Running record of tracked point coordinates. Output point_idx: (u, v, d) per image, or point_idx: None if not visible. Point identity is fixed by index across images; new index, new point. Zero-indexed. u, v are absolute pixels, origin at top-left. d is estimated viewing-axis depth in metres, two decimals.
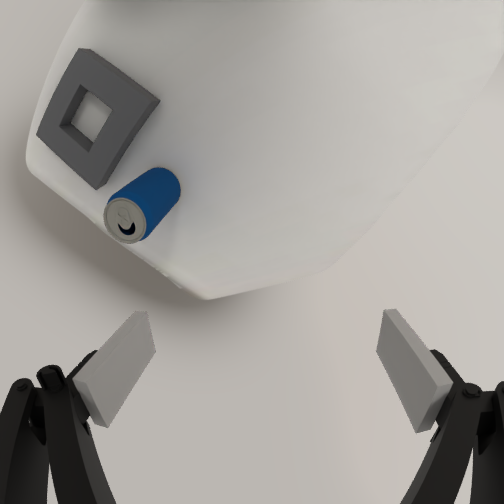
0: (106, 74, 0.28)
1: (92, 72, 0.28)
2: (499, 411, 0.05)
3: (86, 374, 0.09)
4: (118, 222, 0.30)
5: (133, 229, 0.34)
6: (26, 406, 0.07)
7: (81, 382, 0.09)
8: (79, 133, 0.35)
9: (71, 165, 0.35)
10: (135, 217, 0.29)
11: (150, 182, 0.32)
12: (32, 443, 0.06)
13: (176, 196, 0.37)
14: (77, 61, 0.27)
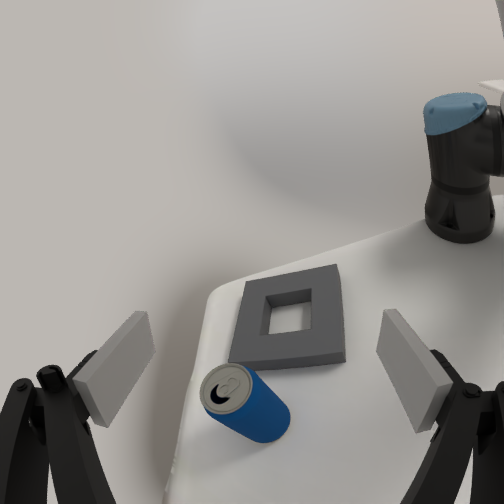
0: (334, 300, 0.39)
1: (327, 289, 0.41)
2: (499, 411, 0.05)
3: (86, 374, 0.09)
4: (220, 383, 0.26)
5: None
6: (26, 406, 0.07)
7: (81, 382, 0.09)
8: (268, 320, 0.44)
9: (237, 327, 0.42)
10: (236, 396, 0.24)
11: (274, 399, 0.27)
12: (32, 443, 0.06)
13: (271, 436, 0.27)
14: (326, 271, 0.44)
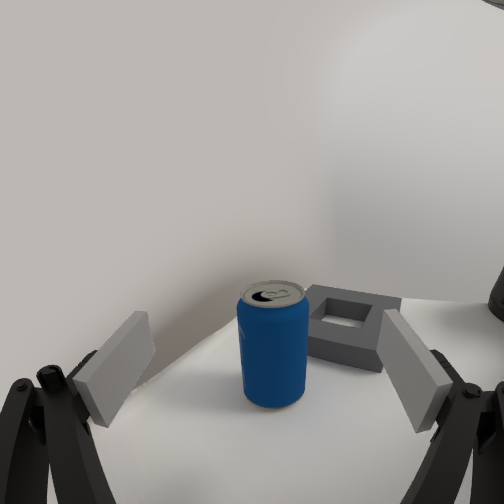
0: None
1: None
2: (499, 411, 0.05)
3: (86, 374, 0.09)
4: (268, 290, 0.26)
5: None
6: (26, 406, 0.07)
7: (81, 382, 0.09)
8: (319, 319, 0.42)
9: None
10: (281, 300, 0.23)
11: (307, 346, 0.25)
12: (32, 443, 0.06)
13: (275, 395, 0.24)
14: (390, 299, 0.40)
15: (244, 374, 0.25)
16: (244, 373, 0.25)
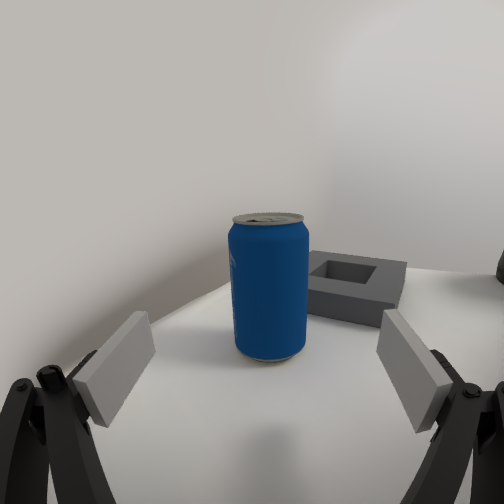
0: (397, 277, 0.33)
1: (392, 270, 0.35)
2: (499, 411, 0.05)
3: (86, 374, 0.09)
4: (263, 218, 0.23)
5: None
6: (26, 406, 0.07)
7: (81, 382, 0.09)
8: None
9: None
10: None
11: (307, 282, 0.23)
12: (32, 443, 0.06)
13: (271, 342, 0.22)
14: (395, 263, 0.38)
15: (235, 318, 0.23)
16: (235, 316, 0.23)
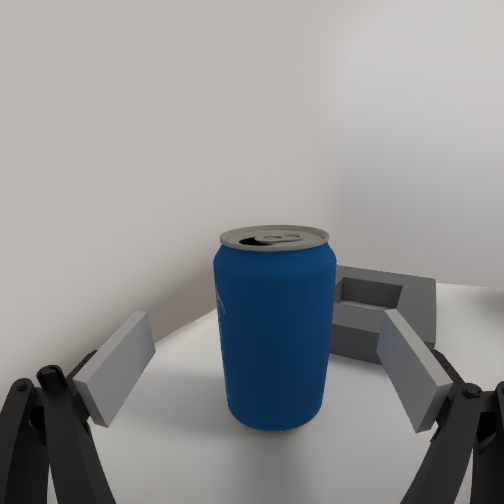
0: (429, 300, 0.25)
1: (422, 291, 0.27)
2: (499, 411, 0.05)
3: (86, 374, 0.09)
4: None
5: None
6: (26, 406, 0.07)
7: (81, 382, 0.09)
8: None
9: None
10: (290, 244, 0.13)
11: None
12: (32, 443, 0.06)
13: (276, 413, 0.14)
14: (423, 280, 0.30)
15: (226, 377, 0.15)
16: (226, 375, 0.15)
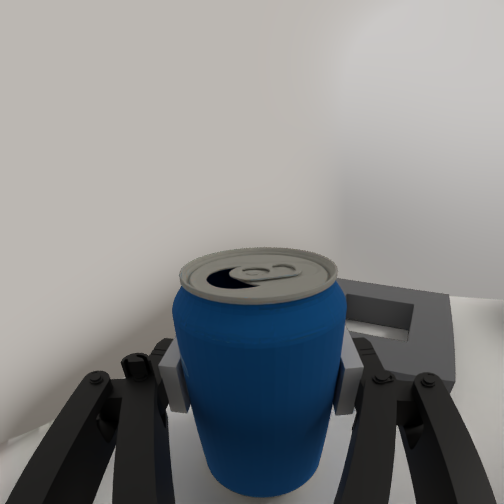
0: (445, 323, 0.20)
1: (436, 311, 0.23)
2: (422, 405, 0.07)
3: (172, 359, 0.10)
4: (249, 266, 0.11)
5: None
6: (97, 402, 0.08)
7: (169, 367, 0.10)
8: None
9: None
10: (279, 286, 0.09)
11: None
12: (95, 441, 0.07)
13: (262, 484, 0.09)
14: (435, 296, 0.26)
15: (200, 439, 0.11)
16: (200, 437, 0.11)
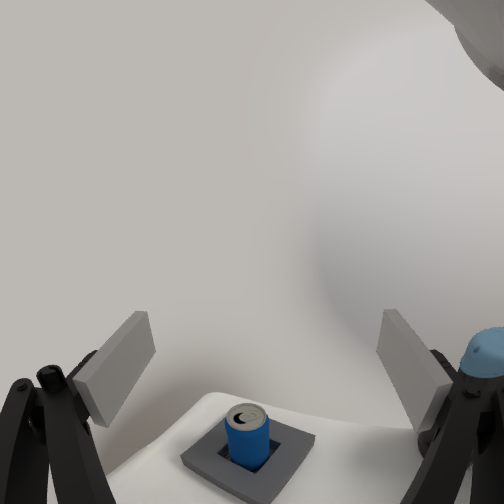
0: (289, 464, 0.34)
1: (292, 452, 0.36)
2: (499, 411, 0.05)
3: (86, 374, 0.09)
4: (244, 413, 0.36)
5: None
6: (26, 406, 0.07)
7: (81, 382, 0.09)
8: None
9: (205, 436, 0.40)
10: (250, 424, 0.34)
11: (268, 441, 0.35)
12: (32, 443, 0.06)
13: (248, 465, 0.34)
14: (302, 437, 0.39)
15: (230, 452, 0.36)
16: (230, 452, 0.36)
